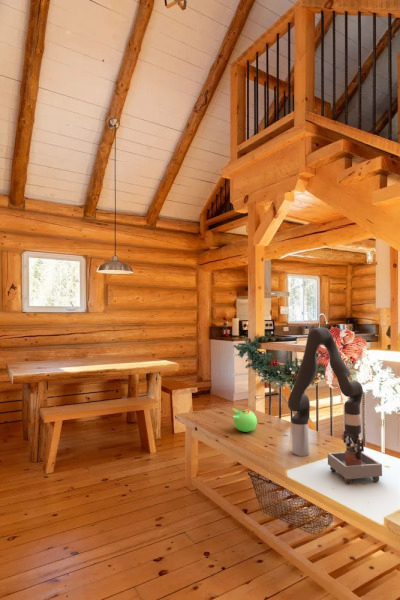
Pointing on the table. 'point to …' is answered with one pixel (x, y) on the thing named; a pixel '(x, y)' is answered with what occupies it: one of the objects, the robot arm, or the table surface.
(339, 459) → the cart
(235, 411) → the green apple
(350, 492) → the table surface
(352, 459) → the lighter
